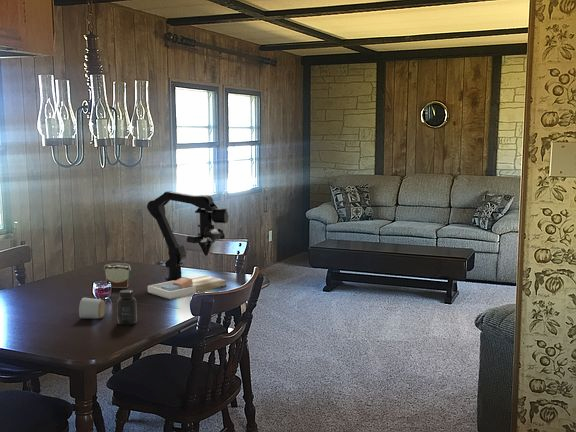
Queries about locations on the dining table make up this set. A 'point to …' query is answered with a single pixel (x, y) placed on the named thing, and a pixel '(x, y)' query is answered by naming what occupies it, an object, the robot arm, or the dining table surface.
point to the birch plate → (207, 283)
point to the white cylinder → (91, 308)
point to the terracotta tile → (183, 282)
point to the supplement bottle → (127, 308)
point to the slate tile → (171, 287)
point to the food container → (117, 274)
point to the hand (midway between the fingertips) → (206, 255)
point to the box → (158, 291)
